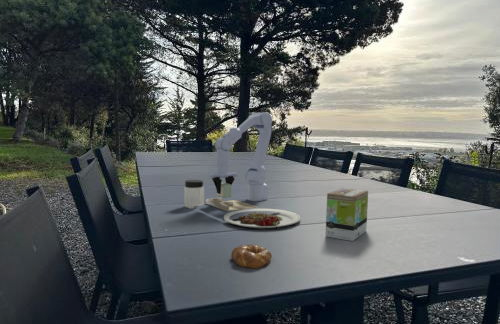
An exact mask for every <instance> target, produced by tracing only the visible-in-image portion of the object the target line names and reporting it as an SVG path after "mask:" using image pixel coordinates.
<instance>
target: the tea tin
mask: <svg viewBox="0 0 500 324" xmlns="http://www.w3.org/2000/svg"><path fill="white" fill-rule="evenodd" d="M232 187H233V184H232V185H231V184H228V183H226V181H225V182H221V193H220V194H218V193H217V192H216V196H217V197H218V198H222V199H231V198H232Z"/></svg>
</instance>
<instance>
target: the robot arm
mask: <svg viewBox="0 0 500 324" xmlns="http://www.w3.org/2000/svg"><path fill="white" fill-rule="evenodd" d="M272 124H273V117H272V115H271V113H269V112H268V111H266V112H265V111H264V112H253V113H251V114H250V115H248V117H247V118H246V119H245V120H244V121H242V123H241V124H240V125H239V126H238V127H231V128H230V129H229V131H228V132H227V133H226V134H225V133H224V134H223V135H222V137H218V138H217V139H216V140H215V143H213V144H214V148H215V149H216V164H217V165H216V171H217V172H215V173H208V175H207V176H208V177H207V178H208V179H211V180H212V182H213V183H214V184H213V185H214V186H215V189H216V194H217V193H218V194H220V193H221V183H222V178H224V180H225V183H228V184H231V185H232V186H233V183H234V181H235V177H236V178H238V177H239V172H237V171H234V172H231V171H230V168H231V167H230V162H231V161H230V155H231V154H230V153H231V152H230V151H231V149H232V148H233V145H234V144H235V143H236V142H238V140H240V139H241V138H242V135H243V133H245V132H247V130H249V129H250V128H251V127H253V126H254V128H255V129H257V131H258V132H259V136H258V139H257V140H258V141H257V144H256V148H255V153H254V156H253V161H252V163H251V164H250V165H249V166H248V168H247V171H246V172H245V174H244V175H245V177H244V178H245V180H246V181H247V185H248V186H247V187H248V189H247V190H248V191H247V194H248V195H247V199H248V201H252V202H260V201H266V200H269V187H268V185H267V183H265V182H266V180H267V169H266V168H265V166H264V165H265V161H266V156H267V152H268V148H269V143H270V140H271V135H272Z"/></svg>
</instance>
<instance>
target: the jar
mask: <svg viewBox="0 0 500 324" xmlns="http://www.w3.org/2000/svg"><path fill="white" fill-rule="evenodd" d="M184 185H185V186H184V187H183V188H184V189H183V190H184V191H183V192H184V195H183V197H184V200H183V201H184V208H187V209H197V207H201V206H203V205H205V186H204V181H203V180H201V179H188V180H185V181H184Z"/></svg>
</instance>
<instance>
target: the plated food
mask: <svg viewBox="0 0 500 324" xmlns="http://www.w3.org/2000/svg"><path fill="white" fill-rule="evenodd" d="M247 212H248V214H247V215H240V216H238V218H234V219H233V218H232V219H230V218H231V216H234V215H237V214H240V213H247ZM249 212H251V213H249ZM265 212H266V213H265ZM267 212H274V213H267ZM223 220H224V221H225V222H227V223H229V224H232V225H236V226H239V227H244V228H253V229H274V228H276V227H277V228H282V227H285V226H290V225H291V226H292V225H293V224H297V223H298V222H300V221H301V216H300V215H299V214H298V213H295V212H293V211H289V210H285V209H283V210H282V209H277V208H275V209H274V208H248V209H240V210H232V211H228V212H227V213H225V214H224V215H223Z"/></svg>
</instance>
